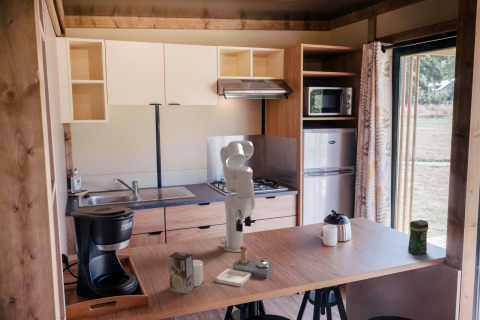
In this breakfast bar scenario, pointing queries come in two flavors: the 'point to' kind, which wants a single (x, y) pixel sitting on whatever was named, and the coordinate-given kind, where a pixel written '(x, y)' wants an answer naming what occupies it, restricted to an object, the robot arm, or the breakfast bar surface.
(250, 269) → the block
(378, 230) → the breakfast bar surface
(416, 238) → the coffee jar
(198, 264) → the white cup
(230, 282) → the tray
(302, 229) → the breakfast bar surface
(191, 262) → the coffee box
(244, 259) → the lock pin
